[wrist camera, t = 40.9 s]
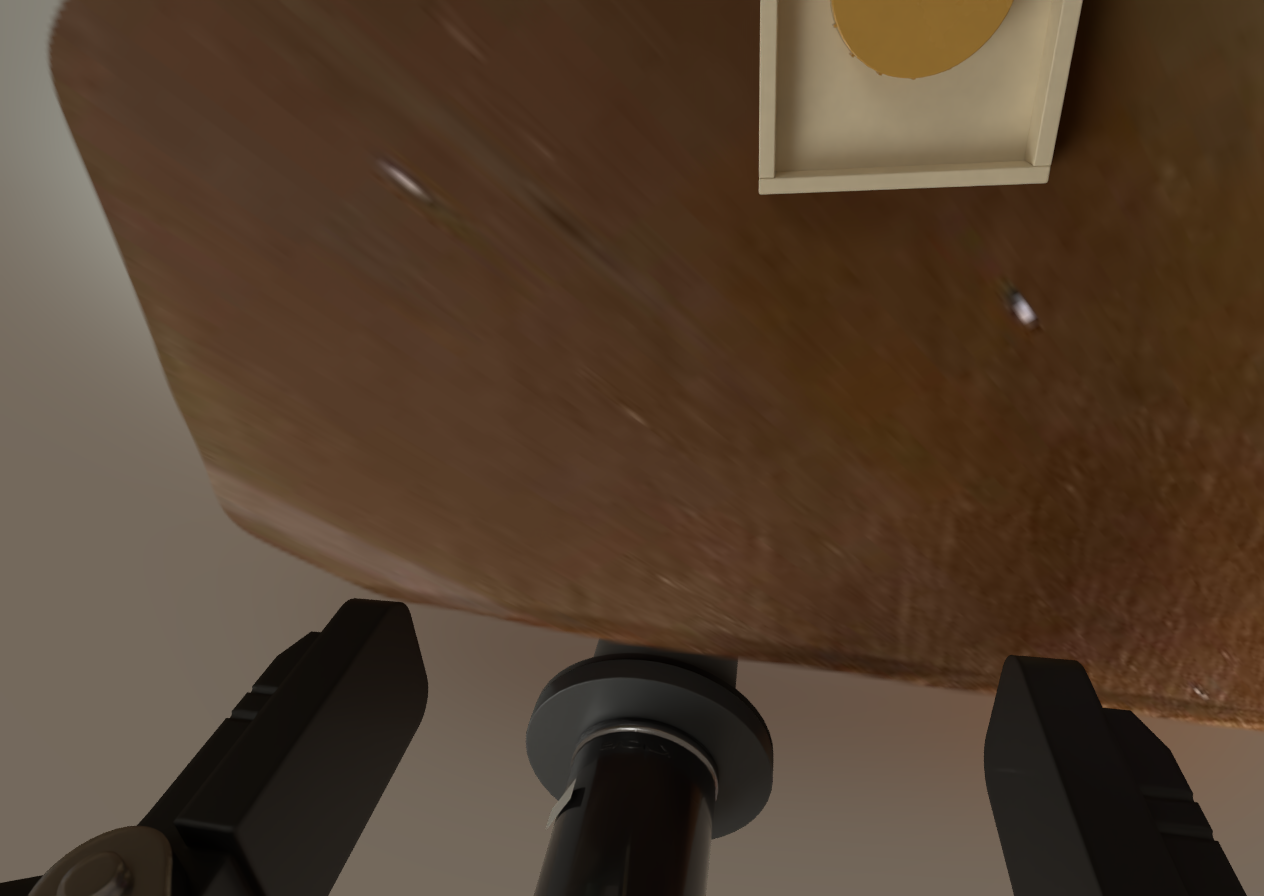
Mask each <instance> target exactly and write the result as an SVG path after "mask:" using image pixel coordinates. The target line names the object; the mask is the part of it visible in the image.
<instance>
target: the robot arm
mask: <svg viewBox="0 0 1264 896" xmlns="http://www.w3.org/2000/svg"><path fill="white" fill-rule="evenodd" d="M252 688H253V689H252V692H251V693H246V695H245V696H244V697H243V698H242V700H241V701H240V702H239V703H238V704H237V706H236V707H235V708H234V709H233V710H232V716H231V717H230V718H226V719H225V720H224V721H223V723H222V724H221V725H220V726H219V727H218V729H217V730H216V731H215V732H214V734H213V735H212V736H211V737H210V738H209V740H208V741H207V742H206V743H205V745H204V746H203V747H202V748H201V749H200V751H199V752H198V753H197V754H196V755H195V757H194V758H193V759H192V760H191V762H190V763H189V764H188V765H187V767H186V768H185V769H184V770H183V771H182V773H181V774H180V775H179V776H178V777H177V779H176V780H175V781H174V782H173V784H172V785H171V786H170V787H169V788H168V790H167V791H166V792H165V793H164V794H163V796H162V797H161V798H160V799H159V801H158V802H157V803H156V804H155V806H154V807H153V808H152V809H151V810H150V812H149V813H148V814H147V815H146V816H145V817H144V818H143V819H142V821H141V822H140V823H139V824H138V825H137V826H128V827H123V828H118V829H115V830H112V831H108V832H106V833H103V834H101V835H99V836H96V837H94V838H92V839H90V840H88V841H86V842H85V843H83V844H81V845H79V846H78V847H76V848H75V849H74V850H72V851H71V852H69V853H68V854H66V855H65V856H64V857H63V858H61V859H60V860H59V861H58V862H57V863H55V864H54V865H53V866H52V867H51V868H50V869H49V870H48V871H47V872H46V873H45V874H44V875H42V876H36V877H31V878H25V879H20V880H14V881H9V882H4V883H0V896H328V895H329V893H330V891H331V889H332V887H333V886H334V884H335V882H336V880H337V878H338V876H339V874H340V872H341V871H342V869H343V867H344V865H345V863H346V861H347V859H348V857H349V856H350V854H351V852H352V850H353V848H354V846H355V844H356V842H357V841H358V839H359V837H360V835H361V833H362V831H363V829H364V828H365V826H366V824H367V822H368V820H369V818H370V817H371V815H372V813H373V811H374V809H375V807H376V805H377V803H378V801H379V800H380V798H381V796H382V794H383V792H384V790H385V788H386V786H387V785H388V783H389V781H390V779H391V777H392V775H393V774H394V772H395V770H396V768H397V766H398V764H399V762H400V760H401V759H402V757H403V755H404V753H405V751H406V749H407V747H408V746H409V744H410V742H411V740H412V738H413V736H414V734H415V732H416V731H417V729H418V727H419V725H420V722H421V721H422V718H423V715H424V712H425V708H426V704H427V698H428V680H427V675H426V671H425V667H424V664H423V660H422V656H421V652H420V648H419V644H418V640H417V637H416V633H415V629H414V625H413V621H412V617H411V614H410V611H409V609H408V607H407V606H406V605H405V604H404V603H402V602H393V601H380V600H369V599H356V598H354V599H350V600H348V601H347V602H345V603H344V604H343V605H342V606H341V608H340V609H339V610H338V611H337V613H336V614H335V615H334V617H333V618H332V619H331V620H330V622H329V623H328V624H327V625H326V627H325V628H324V629H323V631H322V632H310V633H309V634H307V635H306V636H304V637H303V638H302V639H300V640H299V641H298V642H296V643H295V644H293V645H292V646H291V647H289V648H288V649H286V650H285V651H284V652H282V653H281V654H279V655H278V656H277V657H276V658H275V659H274V661H273V662H272V663H271V664H270V665H269V667H268V668H267V669H266V670H265V672H264V673H263V674H262V675H261V676H260V678H259V679H258V680H257V681H256V682H255V684H254V685H253V686H252ZM984 770H985V780H986V786H987V791H988V795H989V799H990V803H991V807H992V811H993V815H994V819H995V822H996V827H997V830H998V834H999V838H1000V842H1001V846H1002V850H1003V854H1004V857H1005V862H1006V865H1007V869H1008V873H1009V877H1010V881H1011V885H1012V889H1013V892H1014V896H1247V895H1246V893H1245V891H1244V890H1243V888H1242V886H1241V884H1240V882H1239V880H1238V878H1237V876H1236V874H1235V873H1234V871H1233V869H1232V867H1231V865H1230V863H1229V861H1228V859H1227V857H1226V855H1225V854H1224V851H1223V850H1222V848H1221V846H1220V844H1219V842H1218V841H1214V839H1213V835H1212V833H1213V831H1212V829H1211V827H1210V825H1209V823H1208V821H1207V819H1206V817H1205V816H1204V813H1203V812H1202V810H1201V808H1200V806H1199V804H1198V803H1197V802H1194V800H1193V792H1192V791H1191V789H1190V787H1189V785H1188V783H1187V781H1186V779H1185V777H1184V775H1183V774H1182V772H1181V770H1180V768H1179V766H1178V764H1177V762H1176V760H1175V758H1174V756H1173V755H1172V753H1171V751H1170V749H1169V748H1168V747H1167V746H1166V745H1165V744H1164V743H1163V742H1162V741H1161V740H1160V739H1159V738H1158V737H1157V736H1156V735H1155V734H1154V733H1152V731H1151V730H1150V729H1149V728H1148V727H1147V726H1146V725H1145V724H1143V722H1142V721H1141V720H1140V719H1139V718H1138V717H1137V716H1136V715H1135V714H1134V713H1133V712H1132V711H1130V710H1120V709H1109V708H1102V705H1101V703H1100V701H1099V699H1098V697H1097V694H1096V692H1095V690H1094V688H1093V686H1092V684H1091V681H1090V679H1089V677H1088V675H1087V673H1086V671H1085V669H1084V667H1083V666H1082V665H1081V664H1080V663H1079V662H1078V661H1075V660H1064V659H1052V658H1040V657H1028V656H1016V655H1010V656H1008V657H1007V658H1006V660H1005V662H1004V665H1003V669H1002V673H1001V677H1000V681H999V685H998V689H997V693H996V697H995V702H994V706H993V710H992V714H991V718H990V722H989V726H988V730H987V734H986V739H985V747H984ZM718 785H719V771H718V767H717V764H716V762H715V760H714V758H713V756H712V755H711V754H710V752H709V751H708V750H707V749H706V747H705V746H704V745H702V744H701V743H700V742H699V741H698V740H697V739H695V738H694V737H693V736H691V735H690V734H688V733H686V732H685V731H683V730H681V729H679V728H677V727H674V726H672V725H669V724H666V723H663V722H660V721H656V720H651V719H645V718H635V717H625V718H616V719H610V720H606V721H603V722H600V723H598V724H596V725H594V726H592V727H590V728H589V729H588V730H586V731H585V732H584V733H583V734H582V735H581V737H580V738H579V740H578V742H577V744H576V747H575V750H574V753H573V757H572V761H571V769H570V773H569V776H568V780H567V783H566V787H565V790H564V794H563V796H562V797H561V798H560V800H559V801H558V803H557V804H556V805H555V807H554V808H553V809H552V810H551V814H550V817H549V820H548V824H547V827H546V829H547V828H548V827H549V825H550V824H551V823H552V821H553V820H554V819H555V817H556V816H557V817H556V820H555V824H554V827H553V831H552V834H551V838H550V841H549V845H548V848H547V852H546V855H545V859H544V862H543V866H542V869H541V872H540V876H539V880H538V883H537V887H536V890H535V893H534V896H706V887H707V878H708V868H709V858H710V847H711V839H712V830H713V819H714V809H715V802H716V799H717V795H718Z"/></svg>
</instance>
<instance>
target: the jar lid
mask: <svg viewBox="0 0 1264 896" xmlns="http://www.w3.org/2000/svg"><path fill="white" fill-rule="evenodd" d="M1013 2H1014V0H830V8H831V13H832V17H833V21H834V23H833V24H832V26H833V28H836V30H837V32H838V34H839V36H840V38H841V40H842V41H843V43H844V44H845V45H846V47H847V48H848V49H849V51H850V53H849V55H850V56H851V57H853V58H854V56H855V57H856V58H857V59H859V60H860V61H861V62H862V63H864V64H865V65H866V66H868V67H869V68H871V69H873V70H875V71H876V73H877V74H878V75H881V76H882V74H885V75H887V76H892V77H897V78H909V79H912V80H916V78H923V77H927V76H932V75H935V74H938V73H941V72H944V71H947V70H950V69H952V68H953V67H955V66H957V65H958V64H960V63H962V62H963V61H965V60H966V59H968V58H969V57H970V56H972V55H973V54H974V53H975V52H977V51H978V50H979V49H980V48H981V47H982V46H983V45H984V44H985V43H986V42H987V41H988V40H989V39H990V38H991V37H992V35H993V34H994V33H995V32H996V30H997V29H998V28H999V26H1000V25H1001V23H1002V22H1003V20H1004V19H1005V17H1006V16H1007V14H1008V12H1009V10H1010V8H1011V6H1012V4H1013Z"/></svg>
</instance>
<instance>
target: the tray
mask: <svg viewBox="0 0 1264 896" xmlns="http://www.w3.org/2000/svg"><path fill="white" fill-rule="evenodd" d="M1082 3H1083V0H1014V2H1013V4H1012V6H1011V8H1010V10H1009V12H1008V14H1007V16H1006V17H1005V19H1004V20H1003V22H1002V23H1001V25H1000V26H999V28H998V29H997V30H996V32H995V33H994V34H993V35H992V37H991V38H990V39H989V40H988V41H987V42H986V43H985V44H984V45H983V46H982V47H981V48H980V49H979V50H978V51H977V52H975V53H974V54H973V55H972V56H970V57H969V58H968V59H966V60H965V61H963V62H962V63H960V64H958V65H957V66H955V67H953V68H952V69H950V70H947V71H944V72H941V73H938V74H935V75H932V76H927V77H923V78H916V80H912V79H909V78H897V77H892V76H887V75H885V74H882V76H881V75H878V74H877V73H876V71H875V70H873V69H871V68H869V67H868V66H866V65H865V64H864V63H862V62H861V61H860V60H859V59H857V58H856V57H855V56H854V58H853V57H851V56H850V55H849V53H850V51H849V49H848V48H847V47H846V45H845V44H844V43H843V41H842V40H841V38H840V36H839V34H838V32H837V30H836V28H833V26H832V24H833V23H834V21H833V17H832V13H831V8H830V0H760V106H759V194H786V193H811V192H836V191H861V190H886V189H911V188H936V187H961V186H986V185H1011V184H1036V183H1047V182H1048V178H1049V173H1050V168H1051V167H1050V166H1049V165H1051V163H1052V158H1053V153H1054V148H1055V143H1056V137H1057V132H1058V127H1059V122H1060V117H1061V112H1062V106H1063V101H1064V96H1065V91H1066V86H1067V80H1068V75H1069V70H1070V65H1071V60H1072V54H1073V49H1074V44H1075V39H1076V34H1077V29H1078V23H1079V18H1080V13H1081V8H1082Z"/></svg>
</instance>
